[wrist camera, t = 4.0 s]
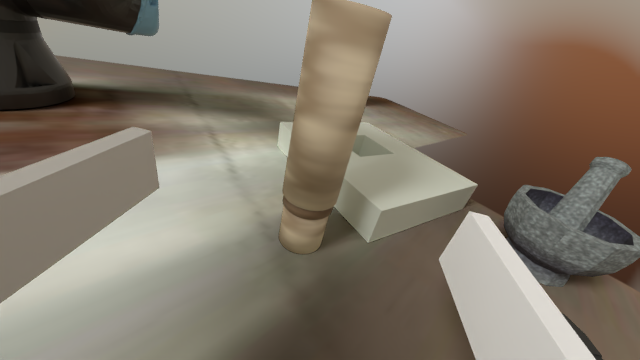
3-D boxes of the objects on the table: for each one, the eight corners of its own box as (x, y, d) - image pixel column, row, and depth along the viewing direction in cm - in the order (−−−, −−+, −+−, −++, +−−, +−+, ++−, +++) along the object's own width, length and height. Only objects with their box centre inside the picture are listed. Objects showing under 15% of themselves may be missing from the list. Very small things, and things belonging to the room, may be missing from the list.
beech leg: (267, 226, 23) (298, -6, 15) (309, 217, 26) (357, 14, 17) (288, 263, 20) (344, -4, 11) (333, 248, 23) (408, 20, 14)
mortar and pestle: (580, 323, 21) (721, 214, 15) (471, 250, 27) (544, 149, 21) (588, 268, 28) (686, 179, 22) (501, 219, 34) (561, 138, 28)
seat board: (277, 146, 39) (280, 121, 37) (361, 141, 49) (367, 122, 47) (368, 243, 24) (381, 211, 22) (462, 208, 34) (477, 184, 32)
